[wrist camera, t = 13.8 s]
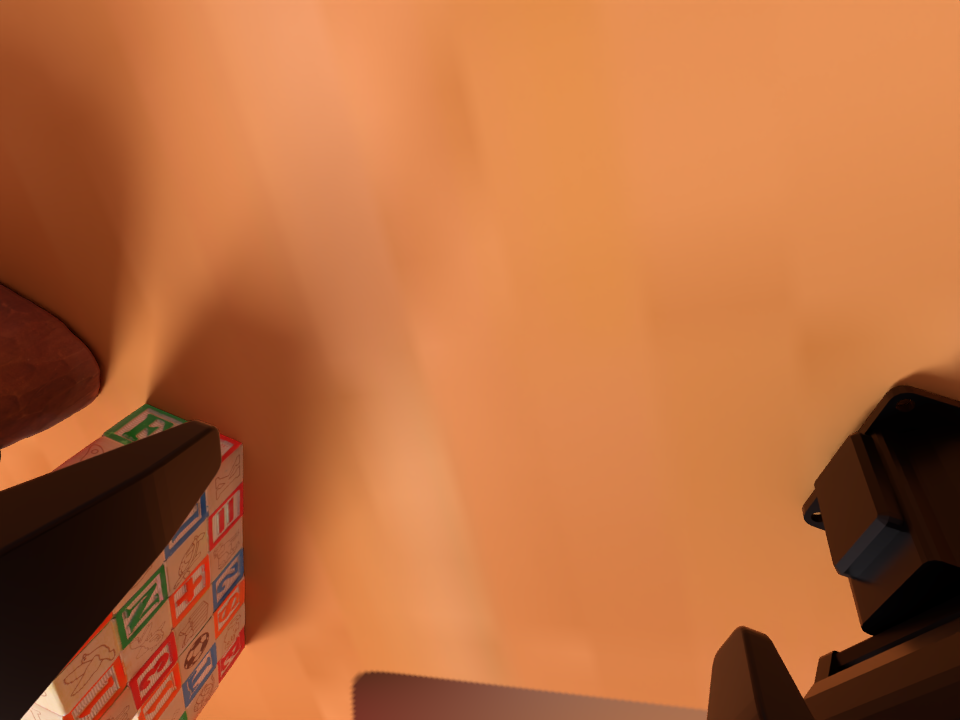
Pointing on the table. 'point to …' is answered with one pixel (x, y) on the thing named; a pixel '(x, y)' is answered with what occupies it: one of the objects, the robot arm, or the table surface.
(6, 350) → the wooden figurine
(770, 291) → the table surface
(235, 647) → the stack of blocks
